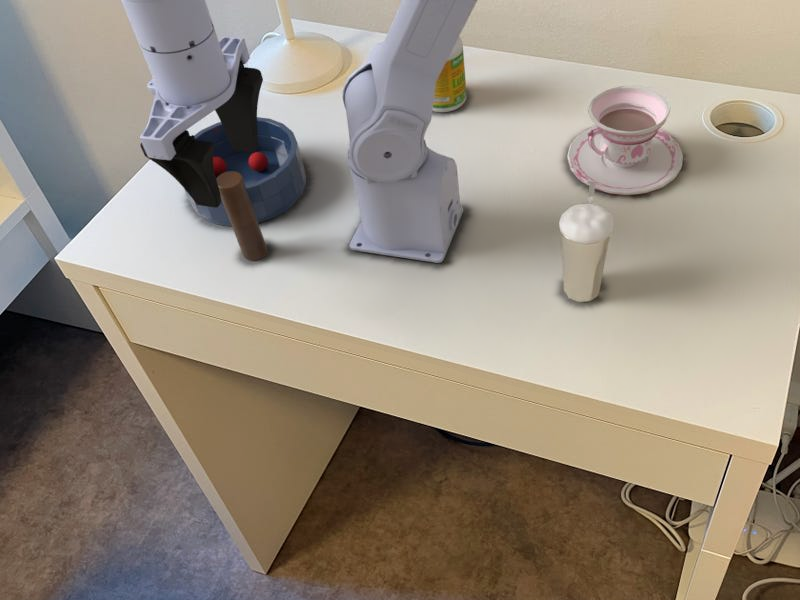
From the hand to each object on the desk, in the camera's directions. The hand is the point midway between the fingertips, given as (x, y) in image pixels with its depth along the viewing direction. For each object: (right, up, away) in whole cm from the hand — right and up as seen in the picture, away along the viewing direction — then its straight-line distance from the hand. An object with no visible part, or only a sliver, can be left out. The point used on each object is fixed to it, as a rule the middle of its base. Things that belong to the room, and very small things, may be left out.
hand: (228, 175), depth 73 cm
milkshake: (+32, -10, +2) cm, 33 cm away
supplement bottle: (+18, +14, +22) cm, 32 cm away
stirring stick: (0, -6, +7) cm, 9 cm away
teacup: (+38, +4, +13) cm, 40 cm away
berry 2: (-1, +5, +14) cm, 15 cm away
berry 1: (-5, +4, +14) cm, 15 cm away
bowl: (-2, +2, +14) cm, 14 cm away
